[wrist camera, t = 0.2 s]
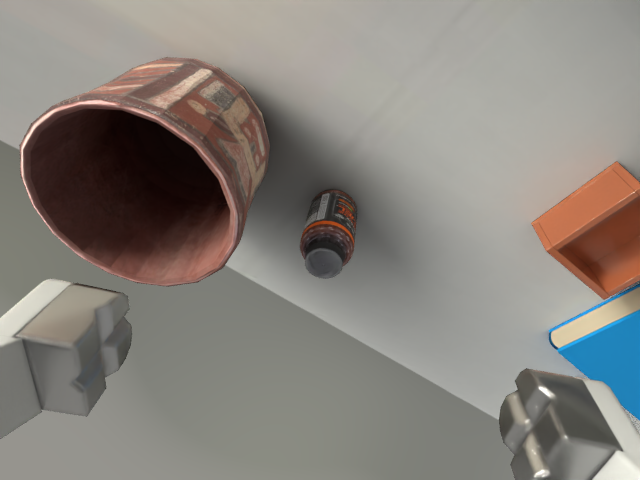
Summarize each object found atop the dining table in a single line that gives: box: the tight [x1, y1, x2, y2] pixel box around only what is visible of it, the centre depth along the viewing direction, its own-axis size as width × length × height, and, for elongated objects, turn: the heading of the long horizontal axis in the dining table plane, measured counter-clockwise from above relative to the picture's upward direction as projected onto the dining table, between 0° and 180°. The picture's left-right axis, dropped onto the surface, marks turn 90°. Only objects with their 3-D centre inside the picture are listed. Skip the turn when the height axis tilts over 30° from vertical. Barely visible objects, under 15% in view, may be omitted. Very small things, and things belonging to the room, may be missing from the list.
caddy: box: [531, 161, 640, 300], centre depth 47 cm, size 11×11×6 cm
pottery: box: [20, 57, 270, 286], centre depth 41 cm, size 18×18×18 cm
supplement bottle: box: [300, 190, 357, 278], centre depth 48 cm, size 6×6×11 cm
